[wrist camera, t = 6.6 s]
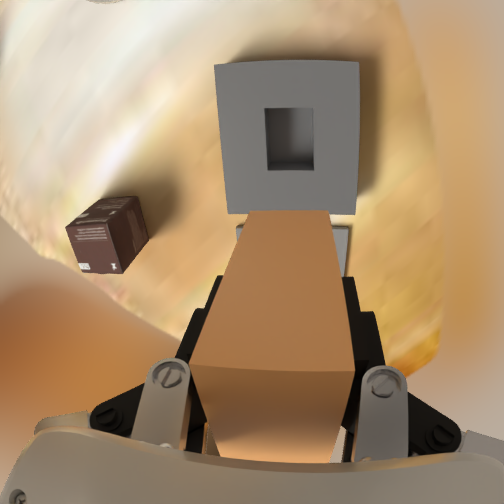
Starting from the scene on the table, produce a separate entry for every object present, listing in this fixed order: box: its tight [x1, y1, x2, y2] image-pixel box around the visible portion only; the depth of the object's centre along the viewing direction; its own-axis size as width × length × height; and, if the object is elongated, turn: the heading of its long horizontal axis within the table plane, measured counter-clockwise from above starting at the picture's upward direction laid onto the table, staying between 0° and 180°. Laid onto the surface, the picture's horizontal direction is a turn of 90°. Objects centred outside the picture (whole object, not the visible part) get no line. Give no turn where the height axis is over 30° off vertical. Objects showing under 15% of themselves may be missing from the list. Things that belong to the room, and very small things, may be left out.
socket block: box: [214, 60, 360, 215], centre depth 27 cm, size 14×12×4 cm
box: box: [65, 196, 149, 274], centre depth 33 cm, size 6×6×7 cm
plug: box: [189, 210, 355, 463], centre depth 11 cm, size 5×4×9 cm
